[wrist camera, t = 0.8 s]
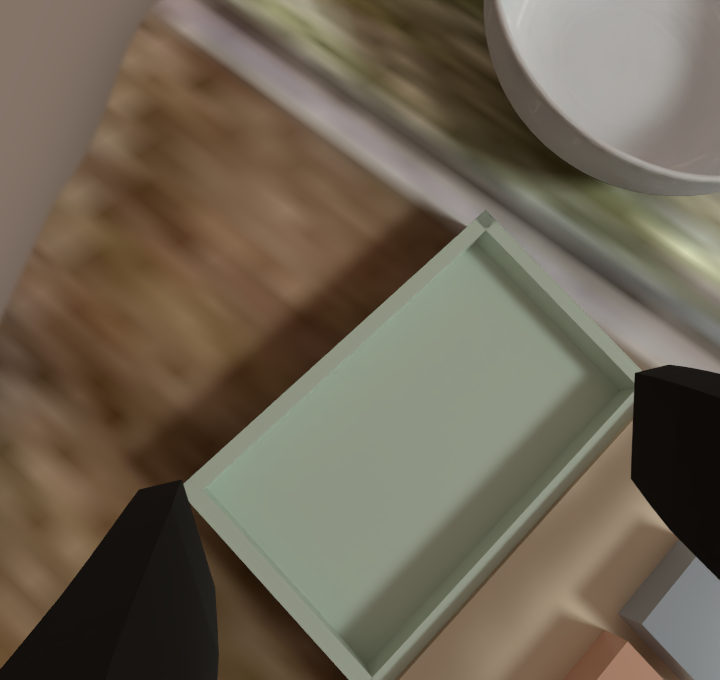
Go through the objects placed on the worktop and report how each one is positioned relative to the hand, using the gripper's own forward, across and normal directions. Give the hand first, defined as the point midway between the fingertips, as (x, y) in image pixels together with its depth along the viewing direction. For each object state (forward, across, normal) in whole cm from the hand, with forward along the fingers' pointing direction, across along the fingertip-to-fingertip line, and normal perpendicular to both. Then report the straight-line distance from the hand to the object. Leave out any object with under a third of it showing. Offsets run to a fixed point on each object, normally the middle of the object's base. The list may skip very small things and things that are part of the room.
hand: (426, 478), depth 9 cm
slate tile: (+11, -15, +20) cm, 27 cm away
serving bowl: (+30, -23, -4) cm, 38 cm away
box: (+20, -5, +12) cm, 23 cm away
